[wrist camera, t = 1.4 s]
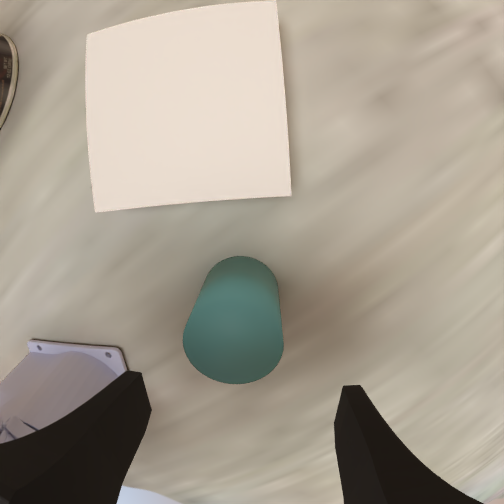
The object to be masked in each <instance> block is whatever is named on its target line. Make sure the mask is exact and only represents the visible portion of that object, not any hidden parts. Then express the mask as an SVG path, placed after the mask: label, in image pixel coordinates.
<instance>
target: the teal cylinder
mask: <svg viewBox="0 0 504 504" xmlns="http://www.w3.org/2000/svg"><path fill="white" fill-rule="evenodd" d="M183 346H184V350H185V353H186V355H187V357H188V359H189V361H190V362H191V363H192V365H193V366H194V367H195V368H196V369H197V370H198V371H200V372H201V373H202V374H204V375H205V376H207V377H209V378H211V379H213V380H216V381H219V382H223V383H228V384H244V383H250V382H253V381H256V380H259V379H261V378H263V377H264V376H266V375H267V374H269V373H270V372H271V371H272V370H273V369H274V368H275V367H276V366H277V364H278V363H279V361H280V359H281V356H282V353H283V346H284V343H283V333H282V323H281V313H280V303H279V294H278V285H277V281H276V279H275V276H274V275H273V273H272V272H271V270H270V269H269V268H268V267H267V266H266V265H264V264H263V263H262V262H260V261H258V260H256V259H253V258H250V257H244V256H237V257H231V258H227V259H225V260H223V261H221V262H219V263H218V264H216V265H215V266H214V267H213V268H212V269H211V271H210V272H209V274H208V276H207V278H206V280H205V282H204V285H203V287H202V289H201V291H200V294H199V296H198V298H197V301H196V303H195V305H194V308H193V310H192V312H191V315H190V317H189V319H188V322H187V324H186V327H185V329H184V333H183Z"/></svg>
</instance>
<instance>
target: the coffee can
mask: <svg viewBox="0 0 504 504" xmlns="http://www.w3.org/2000/svg"><path fill="white" fill-rule="evenodd" d="M17 77H18V56H17V51H16V48H15V45H14V43H13V42H12V40H11V39H10V38H9V37H8V36H6V35H3V34H0V128H1V127H2V125H3V123H4V121H5V119H6V116H7V114H8V111H9V109H10V106H11V103H12V100H13V97H14V93H15V89H16V84H17Z"/></svg>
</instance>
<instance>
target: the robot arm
mask: <svg viewBox="0 0 504 504" xmlns="http://www.w3.org/2000/svg"><path fill="white" fill-rule="evenodd" d="M27 345H28V348H29V351H30V353H29V354H28V355H27V356H26V357H25V358H24V359H23V360H22V361H21V362H20V363H19V364H18V365H17V366H16V367H15V368H14V369H13V370H12V371H11V372H10V373H9V374H8V375H7V376H6V378H5V379H4V380H3V381H2V382H1V383H0V504H116V503H117V500H118V496H119V493H120V490H121V486H122V483H123V481H124V478H125V476H126V473H127V471H128V469H129V467H130V465H131V462H132V460H133V458H134V456H135V454H136V451H137V449H138V447H139V445H140V443H141V440H142V438H143V436H144V434H145V431H146V428H147V425H148V421H149V418H150V414H151V411H152V409H151V406H150V403H149V399H148V396H147V392H146V388H145V385H144V381H143V377H142V373H140V372H134V371H128V370H127V368H126V365H125V362H124V358H123V355H122V352H121V351H120V350H119V349H118V348H116V347H103V346H90V345H77V344H66V343H56V342H47V341H39V340H29V341H28V342H27ZM108 352H109V353H110V354H111V355H110V354H108ZM334 432H335V449H336V455H337V461H338V467H339V472H340V478H341V484H342V491H343V497H344V504H483V503H481V502H479V501H477V500H475V499H473V498H471V497H469V496H467V495H465V494H464V493H462V492H460V491H459V490H457V489H456V488H454V487H452V486H451V485H450V484H448V483H447V482H445V481H444V480H443V479H441V478H440V477H439V476H437V475H436V474H435V473H433V472H432V471H431V470H430V469H429V468H428V467H426V466H425V465H424V464H423V463H422V462H421V461H420V460H419V459H418V458H417V457H416V456H415V455H414V454H413V453H412V452H411V451H410V450H409V449H408V448H407V447H406V446H405V445H404V444H403V442H402V441H401V440H400V439H399V438H398V437H397V435H396V434H395V433H394V432H393V431H392V429H391V428H390V427H389V425H388V424H387V423H386V421H385V420H384V419H383V418H382V416H381V415H380V413H379V412H378V411H377V409H376V408H375V406H374V405H373V403H372V402H371V400H370V399H369V397H368V396H367V394H366V393H365V391H364V390H363V388H362V387H361V386H360V385H349V386H343V388H342V392H341V397H340V401H339V405H338V409H337V413H336V417H335V421H334Z"/></svg>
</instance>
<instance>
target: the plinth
mask: <svg viewBox="0 0 504 504" xmlns="http://www.w3.org/2000/svg"><path fill="white" fill-rule="evenodd" d="M85 85H86V122H87V139H88V153H89V164H90V174H91V183H92V191H93V199H94V206H95V213H96V212H104V211H113V210H121V209H130V208H140V207H149V206H159V205H170V204H181V203H192V202H204V201H217V200H231V199H246V198H262V197H281V196H291V177H290V159H289V143H288V127H287V113H286V100H285V87H284V75H283V64H282V53H281V43H280V33H279V23H278V14H277V5H276V1H254V2H240V3H229V4H220V5H211V6H204V7H197V8H191V9H185V10H179V11H174V12H169V13H164V14H159V15H154V16H150V17H146V18H142V19H138V20H134V21H130V22H126V23H123V24H119V25H116V26H112V27H109V28H106V29H102V30H99V31H96V32H93V33H90V34H87V41H86V76H85Z"/></svg>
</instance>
